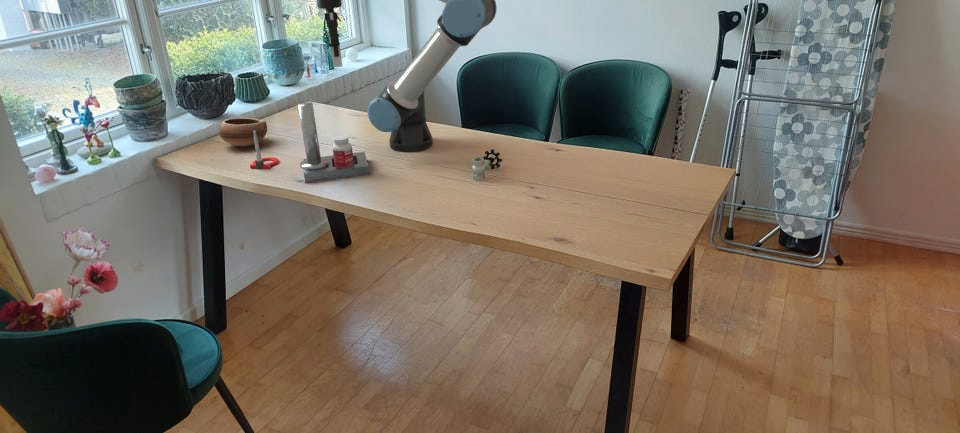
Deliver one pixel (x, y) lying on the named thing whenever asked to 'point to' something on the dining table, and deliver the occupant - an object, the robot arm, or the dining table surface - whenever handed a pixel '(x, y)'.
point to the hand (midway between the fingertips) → (337, 62)
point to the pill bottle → (342, 151)
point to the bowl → (242, 131)
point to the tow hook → (259, 162)
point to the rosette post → (324, 166)
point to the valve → (484, 164)
